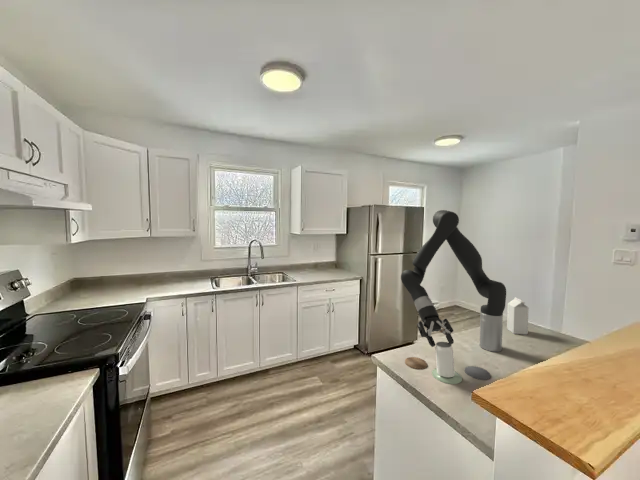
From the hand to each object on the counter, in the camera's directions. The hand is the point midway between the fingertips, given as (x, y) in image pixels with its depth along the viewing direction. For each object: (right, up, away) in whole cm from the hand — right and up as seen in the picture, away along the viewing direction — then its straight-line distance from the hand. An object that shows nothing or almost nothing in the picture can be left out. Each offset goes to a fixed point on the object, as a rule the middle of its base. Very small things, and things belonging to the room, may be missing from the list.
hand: (442, 345), depth 110 cm
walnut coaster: (-8, -12, +8) cm, 16 cm away
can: (0, -11, -2) cm, 11 cm away
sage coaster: (+1, -12, -2) cm, 12 cm away
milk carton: (+60, -9, +42) cm, 74 cm away
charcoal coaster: (+14, -12, 0) cm, 18 cm away
